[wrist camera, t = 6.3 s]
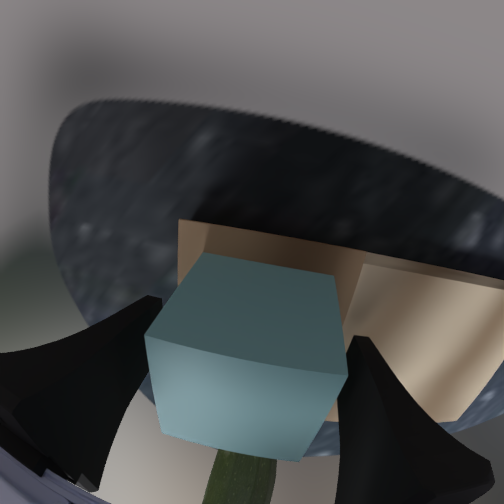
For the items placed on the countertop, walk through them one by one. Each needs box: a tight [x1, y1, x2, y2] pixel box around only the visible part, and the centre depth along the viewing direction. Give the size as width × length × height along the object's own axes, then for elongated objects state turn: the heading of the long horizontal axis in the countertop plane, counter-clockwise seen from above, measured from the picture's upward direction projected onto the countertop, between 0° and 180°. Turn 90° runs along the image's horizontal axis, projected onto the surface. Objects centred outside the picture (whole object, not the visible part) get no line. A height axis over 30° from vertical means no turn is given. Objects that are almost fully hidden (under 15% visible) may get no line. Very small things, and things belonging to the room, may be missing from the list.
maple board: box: [178, 219, 504, 422], centre depth 13 cm, size 18×10×1 cm, turn 83°
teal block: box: [144, 252, 348, 462], centre depth 10 cm, size 5×5×5 cm
